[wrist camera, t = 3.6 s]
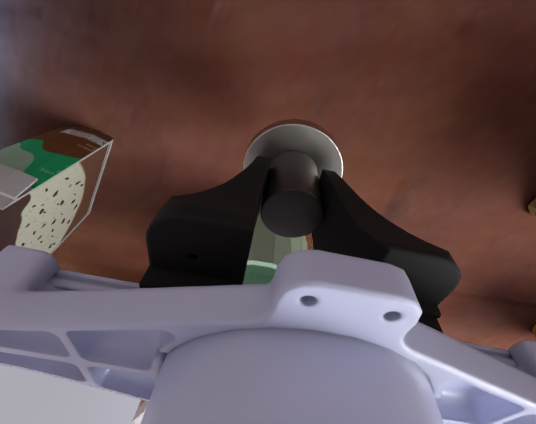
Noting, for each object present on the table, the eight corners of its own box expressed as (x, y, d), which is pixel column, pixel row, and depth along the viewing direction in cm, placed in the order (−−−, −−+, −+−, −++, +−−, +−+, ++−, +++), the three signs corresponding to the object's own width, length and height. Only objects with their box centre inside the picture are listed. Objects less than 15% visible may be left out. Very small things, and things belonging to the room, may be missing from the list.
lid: (361, 169, 14) (382, 219, 11) (289, 219, 16) (287, 273, 13) (296, 94, 12) (296, 128, 9) (225, 165, 14) (204, 211, 11)
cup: (326, 248, 26) (333, 302, 21) (263, 284, 30) (257, 335, 26) (260, 192, 23) (252, 242, 18) (200, 242, 27) (180, 292, 22)
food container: (29, 70, 18) (-179, 120, 10) (118, 123, 20) (2, 201, 12) (19, 190, 25) (-110, 277, 17) (86, 222, 26) (-1, 313, 19)
